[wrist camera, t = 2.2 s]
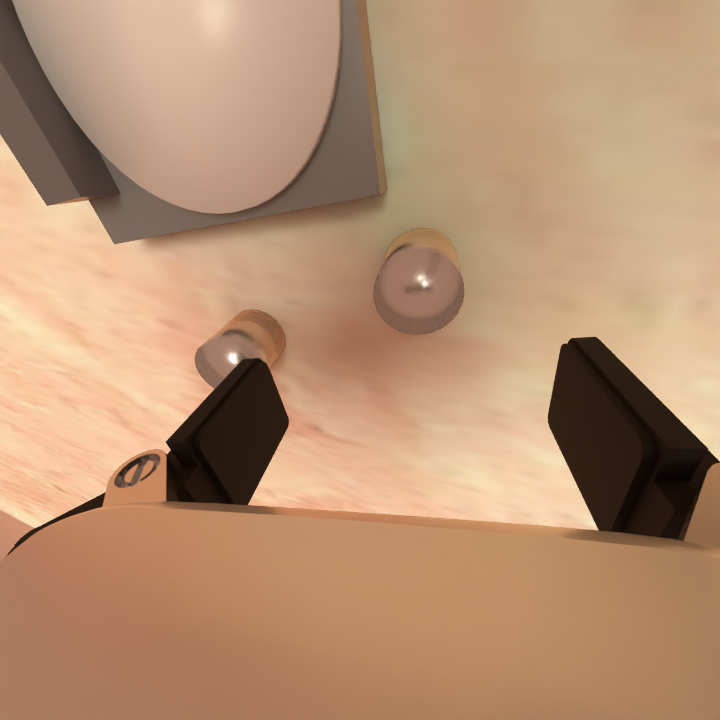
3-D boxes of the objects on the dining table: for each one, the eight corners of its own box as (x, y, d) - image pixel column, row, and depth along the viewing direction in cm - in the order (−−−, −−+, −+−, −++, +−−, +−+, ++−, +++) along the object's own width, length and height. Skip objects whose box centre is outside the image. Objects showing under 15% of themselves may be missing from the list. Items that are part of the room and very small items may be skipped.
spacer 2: (380, 234, 19) (367, 256, 15) (455, 222, 17) (464, 243, 13) (389, 301, 21) (380, 337, 17) (456, 294, 20) (464, 331, 16)
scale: (-38, -118, 14) (-249, -240, 9) (323, -364, 9) (236, -797, 5) (145, 234, 21) (76, 254, 17) (386, 189, 17) (373, 201, 13)
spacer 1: (224, 312, 24) (183, 344, 20) (275, 307, 23) (242, 340, 19) (245, 358, 26) (212, 396, 22) (292, 356, 25) (266, 395, 21)
